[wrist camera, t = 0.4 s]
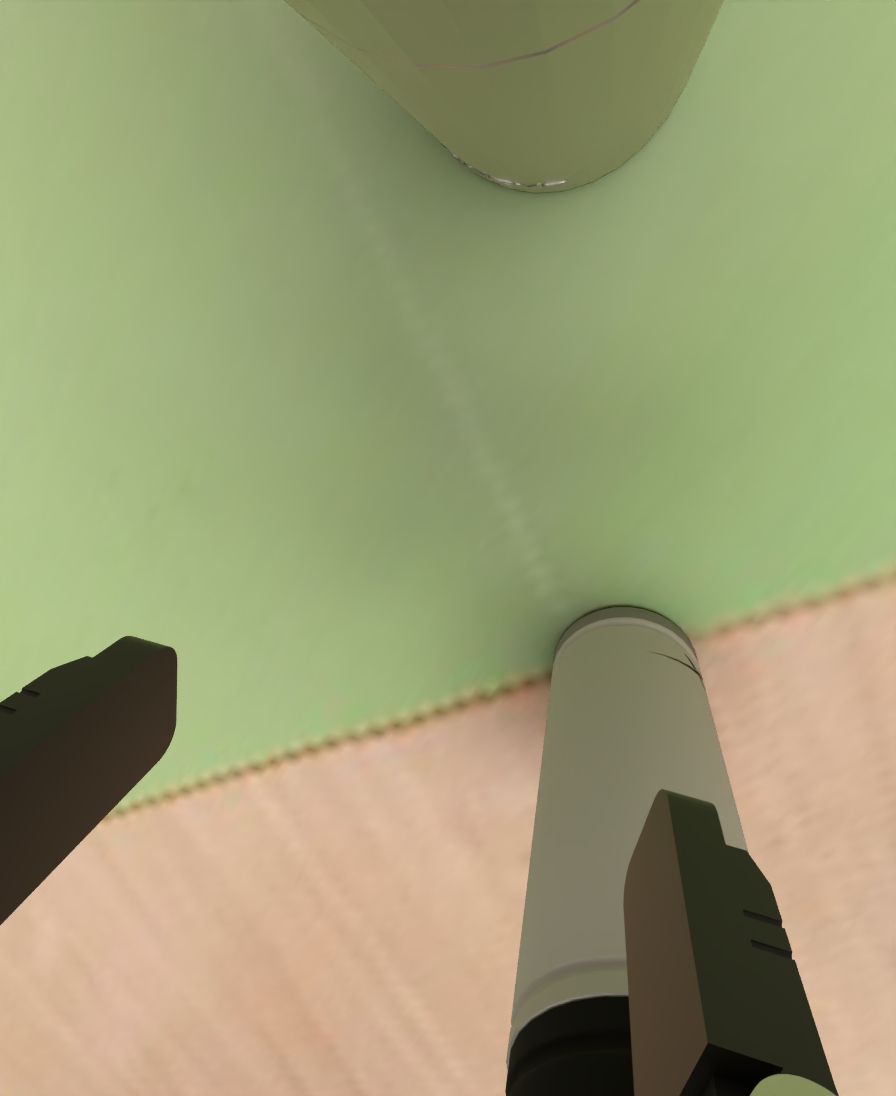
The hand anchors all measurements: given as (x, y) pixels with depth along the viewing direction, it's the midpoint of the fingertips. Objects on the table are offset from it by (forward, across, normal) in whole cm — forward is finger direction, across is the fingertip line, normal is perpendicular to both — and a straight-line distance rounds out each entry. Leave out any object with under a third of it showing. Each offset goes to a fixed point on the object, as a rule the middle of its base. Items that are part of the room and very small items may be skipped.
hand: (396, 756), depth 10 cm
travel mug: (+18, -7, +7) cm, 20 cm away
